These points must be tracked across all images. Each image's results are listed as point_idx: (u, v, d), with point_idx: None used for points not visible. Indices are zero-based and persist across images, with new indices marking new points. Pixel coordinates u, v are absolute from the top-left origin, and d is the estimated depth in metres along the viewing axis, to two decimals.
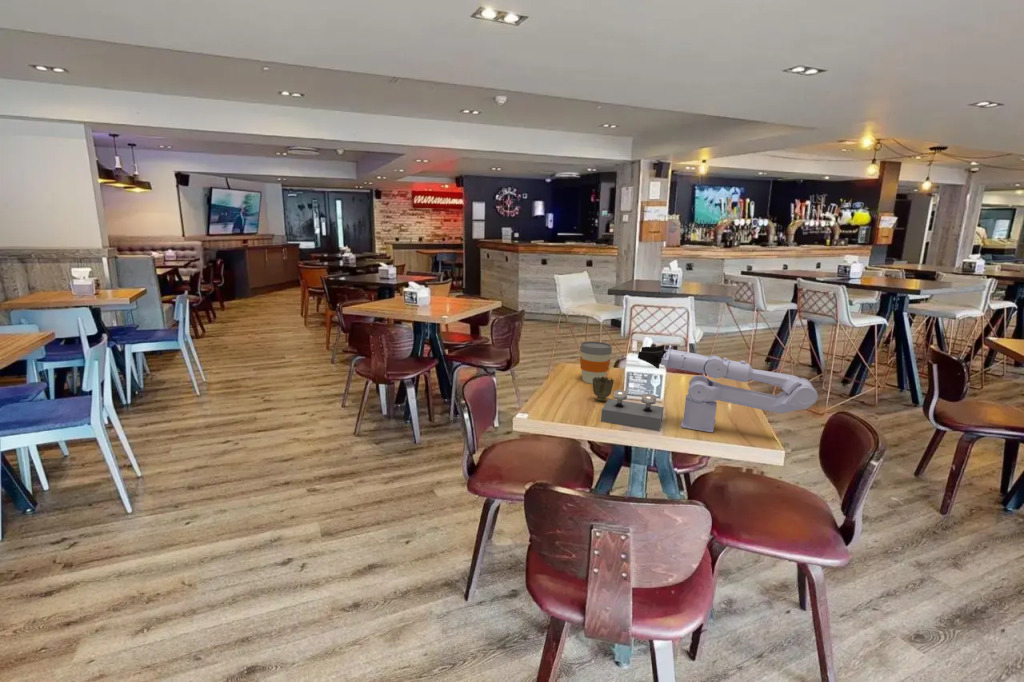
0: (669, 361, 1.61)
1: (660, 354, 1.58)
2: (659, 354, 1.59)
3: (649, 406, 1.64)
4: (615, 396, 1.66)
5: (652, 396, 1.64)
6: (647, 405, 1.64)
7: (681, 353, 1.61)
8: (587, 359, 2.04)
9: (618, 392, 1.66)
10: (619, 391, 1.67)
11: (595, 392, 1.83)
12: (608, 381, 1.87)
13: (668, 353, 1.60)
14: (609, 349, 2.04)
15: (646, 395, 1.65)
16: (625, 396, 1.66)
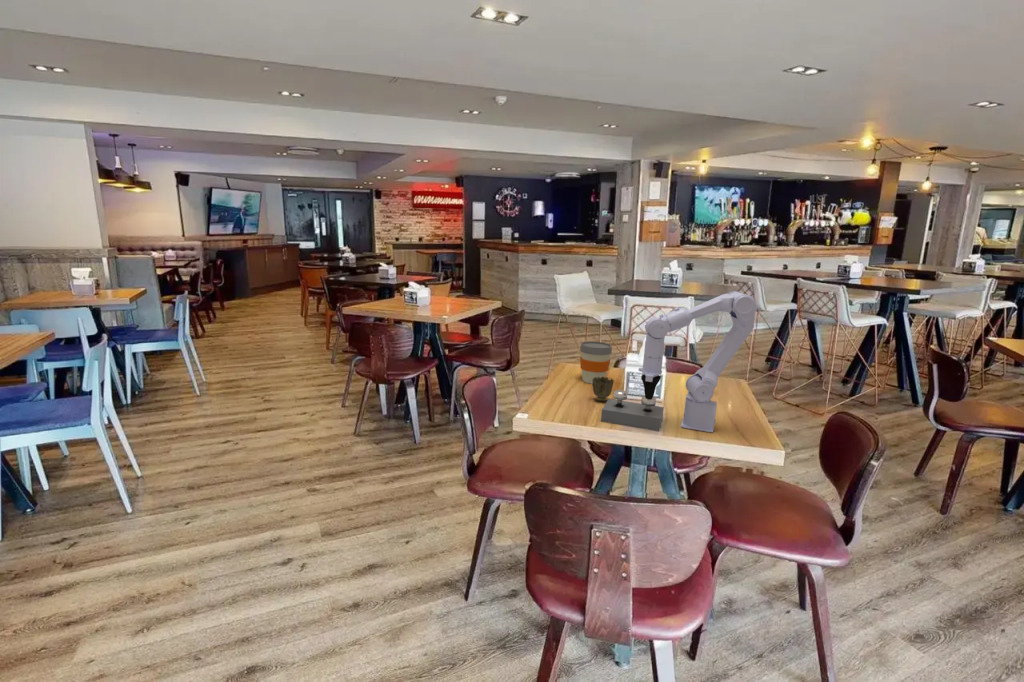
0: (652, 371, 1.60)
1: (643, 378, 1.61)
2: (644, 379, 1.61)
3: (649, 408, 1.64)
4: (615, 396, 1.66)
5: (652, 398, 1.64)
6: (647, 407, 1.64)
7: (644, 359, 1.61)
8: (587, 359, 2.04)
9: (618, 392, 1.66)
10: (619, 391, 1.67)
11: (595, 392, 1.83)
12: (608, 381, 1.87)
13: (643, 372, 1.60)
14: (609, 349, 2.04)
15: None
16: (625, 396, 1.66)
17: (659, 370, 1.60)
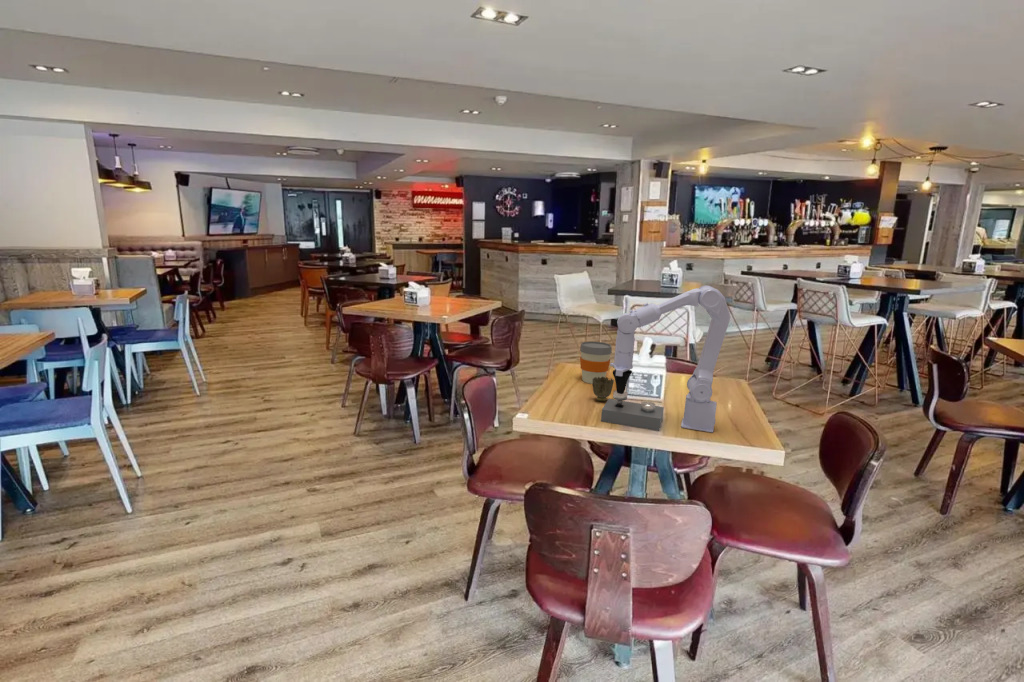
0: (623, 365, 1.62)
1: (614, 373, 1.64)
2: (615, 374, 1.64)
3: None
4: (615, 397, 1.66)
5: (651, 404, 1.64)
6: None
7: (615, 354, 1.64)
8: (587, 359, 2.04)
9: (618, 393, 1.66)
10: None
11: (595, 392, 1.83)
12: (608, 381, 1.87)
13: (614, 367, 1.63)
14: (609, 349, 2.04)
15: (645, 403, 1.65)
16: (625, 397, 1.66)
17: (630, 365, 1.63)
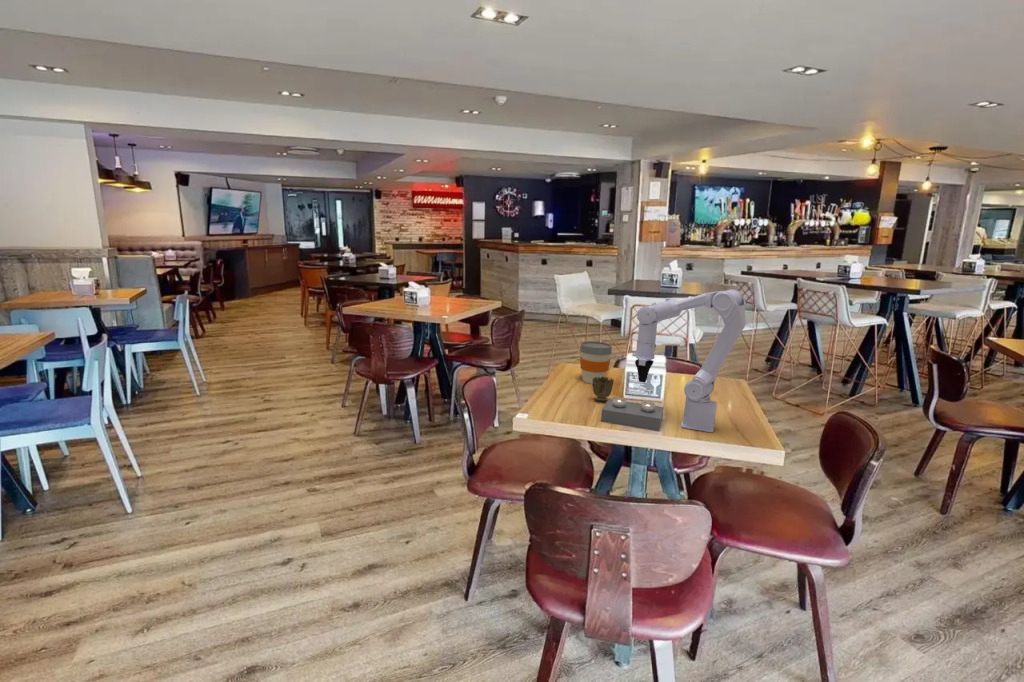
0: (645, 355, 1.69)
1: (637, 363, 1.71)
2: (637, 364, 1.71)
3: None
4: (614, 404, 1.67)
5: (651, 404, 1.64)
6: None
7: (637, 345, 1.71)
8: (587, 359, 2.04)
9: (617, 400, 1.67)
10: (618, 399, 1.68)
11: (595, 392, 1.83)
12: (608, 381, 1.87)
13: (637, 357, 1.70)
14: (609, 349, 2.04)
15: (645, 403, 1.65)
16: (624, 404, 1.66)
17: (652, 355, 1.70)
